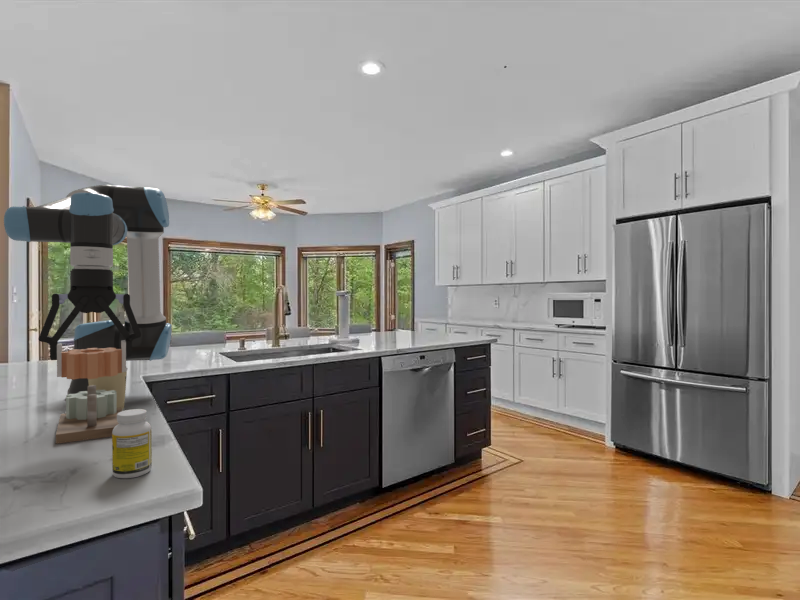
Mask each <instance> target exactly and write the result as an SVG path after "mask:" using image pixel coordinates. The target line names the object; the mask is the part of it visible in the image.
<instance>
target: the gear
mask: <svg viewBox="0 0 800 600" xmlns="http://www.w3.org/2000/svg"><path fill="white" fill-rule="evenodd" d="M96 394H97V418H101V417H106V415H108V414H115V413H116V412H117V393H116V391H114V390H110V391H105V390H96ZM87 395H88V391H82V392H78V393H76V394H69V395H67V394H66V395H65V396H66V397H65V413H66V418H67V419H73V418H77V419H78V420H86V419H87Z"/></svg>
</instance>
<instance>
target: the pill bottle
mask: <svg viewBox="0 0 800 600" xmlns="http://www.w3.org/2000/svg"><path fill="white" fill-rule="evenodd" d="M147 414H148V413H147V410H146V409H142V408H133V409H126V410H125V409H124V410H122V412H119V413H118V414H117V422H118V423H119V424H118V425H117V426H115V427H114V429H113V431H112V436H111V439H112V440H111V448H112V449H111V451H112V455H111V457H112V458H111V459H112V476H113V477H115V478H118V479H133V478H138V477H142V476H144V475H146V474H148V473H149V472H150V471H151V470H152V462H153V461H152V460H153V459H152V458H153V455H152V453H153V451H152V426H151V423H149V422H148V421H146V419H147V416H148V415H147Z"/></svg>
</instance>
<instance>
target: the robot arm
mask: <svg viewBox="0 0 800 600" xmlns="http://www.w3.org/2000/svg"><path fill="white" fill-rule="evenodd" d="M168 207H169V206H168V203H167V199H166V196H165V193H164V192H163V191H162V190H161V189H159V188H155V187H147V186H130V185H115V184H113V185H112V184H98V185H97V184H96V185H92V186H87V187H82V188H79V189H76V190H75V189H74V190H71V192H69V193H67V195H66V196H65V197H63V198H60V199H57V200H56V199H55V200H54V201H50V202H48V203H44V204H42V205H38V206H25V205H22V206H11V207H10V206H9V208H7V209H6V210H5V213H4V216H3V223H4V224H3V226H4V230H5V233H6V235H7V236H8V238H9V239H11V240H12V241H16V242H19V241H20V242H28V243H31V242H32V243H33V242H35V243H37V242H38V243H39V242H41V243H64V244H65V243H66V244H70V247H69V252H70V259H69V260H70V261H69V262H70V266H71V267H73V268H72V269H71V270H70V272H69V273H70V285H69V286H70V290H69V292H68V293H53V294H52V295H51V306H50V309H49V311H48V314H47V316H46V319H45V321H44V324H43V325H42V329H41V331H40V334H39V336H38V342H41V343H46V344H48V345H49V359H50V360H51V361H56V377H57V378H63V377H62V352H63V344H62V343H61V342H60V343H59V340H60V339H61V337H63V336H64V333H65V332H66V331H67V330H68V328H69V327H70V326H71V325H72V323H73V321H74V320H76V319H75V318H76V317H78V315H79V314H80V313H83V314H89V313H96V314H102V313H104V312H105V314H106V315H107V316H108V318H109V320H99V321H93V322H86V323H80V324H78V325H76V326H75V329H74V336H73V348H74V349H79V350H81V349H87V348H116V349H122V372H126V367H127V362H130V361H132V362H134V361H135V362H137V361H149V362H151V361H156V360H163V359H165V358H166V357H167V355H168V353H169V349H170V345H171V340H172V327H173V326H172V324H171V323H169V322H167V317H166V316H165V315H164V314H162V313H161V285H160V283H161V281H160V278H161V277H160V252H159V251H160V250H159V246H160V245H159V244H160V243H159V239H160V237H161V236H162V235H163V234H164V233H165V231H164V229H165V228H168V227H169V225H170V212H169V208H168ZM125 239H126V246H127V247H126V248H127V251H126V252H127V271H128V273H127V274H128V277H127V278H128V293H115V291H114V271H112V269H111V268H112V267H114V248H113V246H115V245H119V244H121V243H122V242H123V241H124V240H125ZM66 300H69V301H70V303H72V305H73V306H74V307H73V309H72V310H71V312H70V313H69V314H68V315H67V317H66V318H65V320H64V321H63V323H62V324H61V325H60V326H59V327H58V329H57V331H55V333H54V335H53V336H49V334H50V332H51V328H52V327H53V323H54V321H55V318H56V316H57V314H58V312H59V309H60V306H61V305H63V304H64V303H65V301H66ZM115 300H118V303H119V304H122V306H123V309H124V311H125V314H126V317H125V318H124V323H122V322H121V320H120V319H119V318H118V317H117V316H116V314H115V313H114V311H113V310H112V309H111V307H110V306H111V305H112V303H114V301H115ZM74 349H73V350H74ZM88 386H89V383H88V379H87V378H79V379H70V384H69V387H68V389H67V391H66V392H67V394H66V395H69V394H76V393H78V392H82V391H88Z"/></svg>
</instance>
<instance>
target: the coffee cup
mask: <svg viewBox="0 0 800 600" xmlns="http://www.w3.org/2000/svg"><path fill="white" fill-rule="evenodd" d="M127 372H128V367H127V366H126V372H122V373H118V375H115V376H111V377H110V376H104V377H98V378H96V379H88V383H89V386H91V385H96V390H105V391H110V390H114V391H116V393H117V408H122V411H124V410H125V402H126V401H125V400H126V389H127V377H128V376H127Z"/></svg>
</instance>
